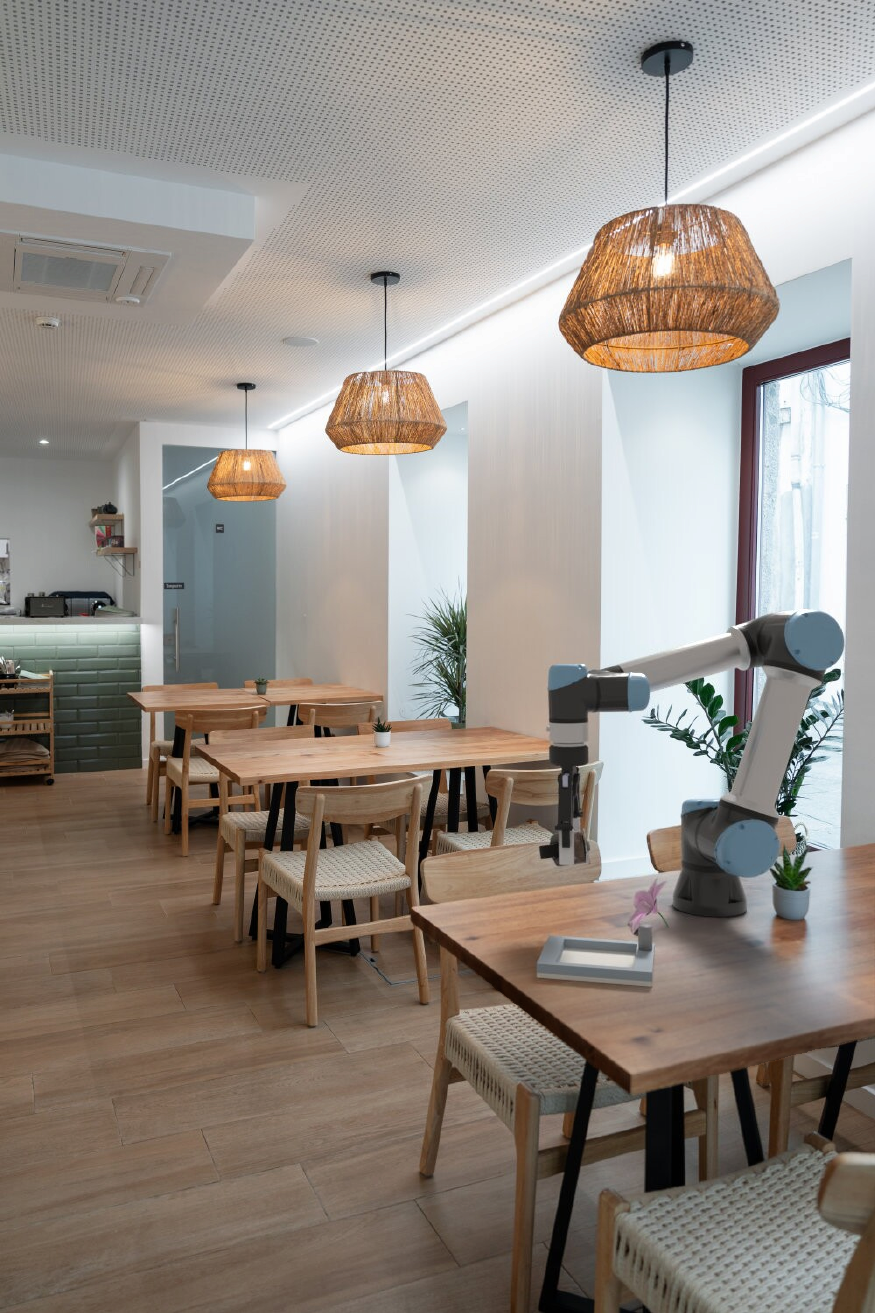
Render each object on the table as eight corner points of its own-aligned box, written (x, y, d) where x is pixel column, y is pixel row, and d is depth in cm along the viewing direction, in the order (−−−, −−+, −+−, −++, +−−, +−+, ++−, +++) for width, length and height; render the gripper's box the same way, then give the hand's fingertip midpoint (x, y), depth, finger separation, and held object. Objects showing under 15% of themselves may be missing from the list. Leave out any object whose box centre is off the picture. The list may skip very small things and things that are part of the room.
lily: (638, 920, 203) (617, 882, 202) (691, 904, 198) (670, 865, 197) (630, 955, 193) (608, 915, 191) (686, 939, 188) (664, 897, 186)
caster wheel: (544, 869, 196) (594, 863, 195) (538, 871, 186) (591, 864, 184) (539, 835, 198) (589, 828, 196) (533, 835, 187) (585, 828, 185)
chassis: (654, 956, 177) (654, 920, 177) (652, 987, 162) (652, 948, 162) (548, 948, 182) (549, 913, 182) (536, 977, 166) (536, 939, 166)
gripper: (556, 737, 203) (558, 843, 203) (540, 751, 180) (542, 871, 180) (593, 737, 201) (594, 845, 201) (582, 751, 178) (584, 872, 179)
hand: (570, 857), depth 191 cm, fingers closed on caster wheel, 11 cm apart
